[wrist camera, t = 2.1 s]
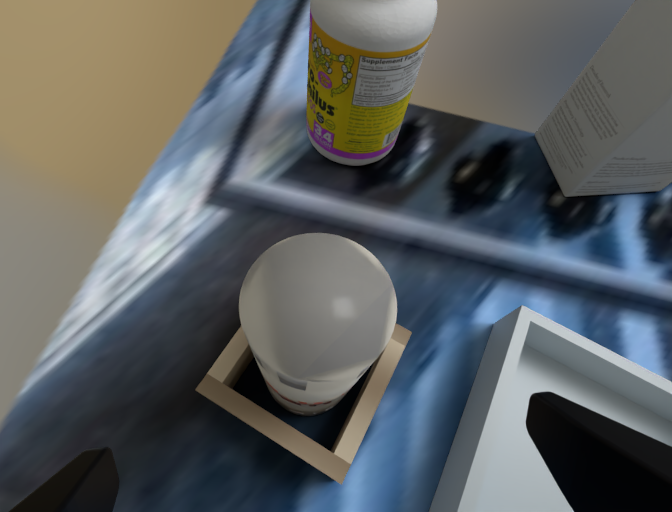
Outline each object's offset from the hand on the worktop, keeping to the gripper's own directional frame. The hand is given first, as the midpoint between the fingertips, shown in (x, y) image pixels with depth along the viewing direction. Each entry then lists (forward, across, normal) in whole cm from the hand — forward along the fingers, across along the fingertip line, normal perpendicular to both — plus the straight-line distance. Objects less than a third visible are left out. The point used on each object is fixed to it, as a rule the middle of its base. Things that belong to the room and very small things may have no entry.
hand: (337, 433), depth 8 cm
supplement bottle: (+22, -5, -6) cm, 23 cm away
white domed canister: (+10, 0, +5) cm, 12 cm away
